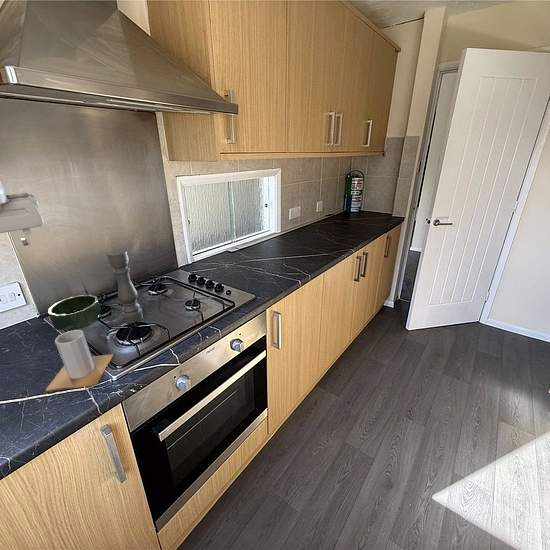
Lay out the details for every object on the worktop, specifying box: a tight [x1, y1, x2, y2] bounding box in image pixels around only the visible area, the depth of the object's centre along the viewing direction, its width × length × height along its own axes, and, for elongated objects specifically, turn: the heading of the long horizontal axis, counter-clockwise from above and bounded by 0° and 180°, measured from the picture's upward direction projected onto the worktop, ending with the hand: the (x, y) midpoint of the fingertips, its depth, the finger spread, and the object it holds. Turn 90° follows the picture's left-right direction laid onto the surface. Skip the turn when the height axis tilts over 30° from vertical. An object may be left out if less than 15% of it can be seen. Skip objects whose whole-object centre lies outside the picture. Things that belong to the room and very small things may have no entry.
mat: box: [45, 353, 114, 392], centre depth 79 cm, size 12×12×1 cm
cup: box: [54, 329, 95, 379], centre depth 77 cm, size 6×6×11 cm
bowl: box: [47, 294, 102, 331], centre depth 104 cm, size 15×15×6 cm
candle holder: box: [106, 249, 144, 325], centre depth 99 cm, size 6×6×25 cm
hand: (5, 249), depth 79 cm, fingers open, 8 cm apart
